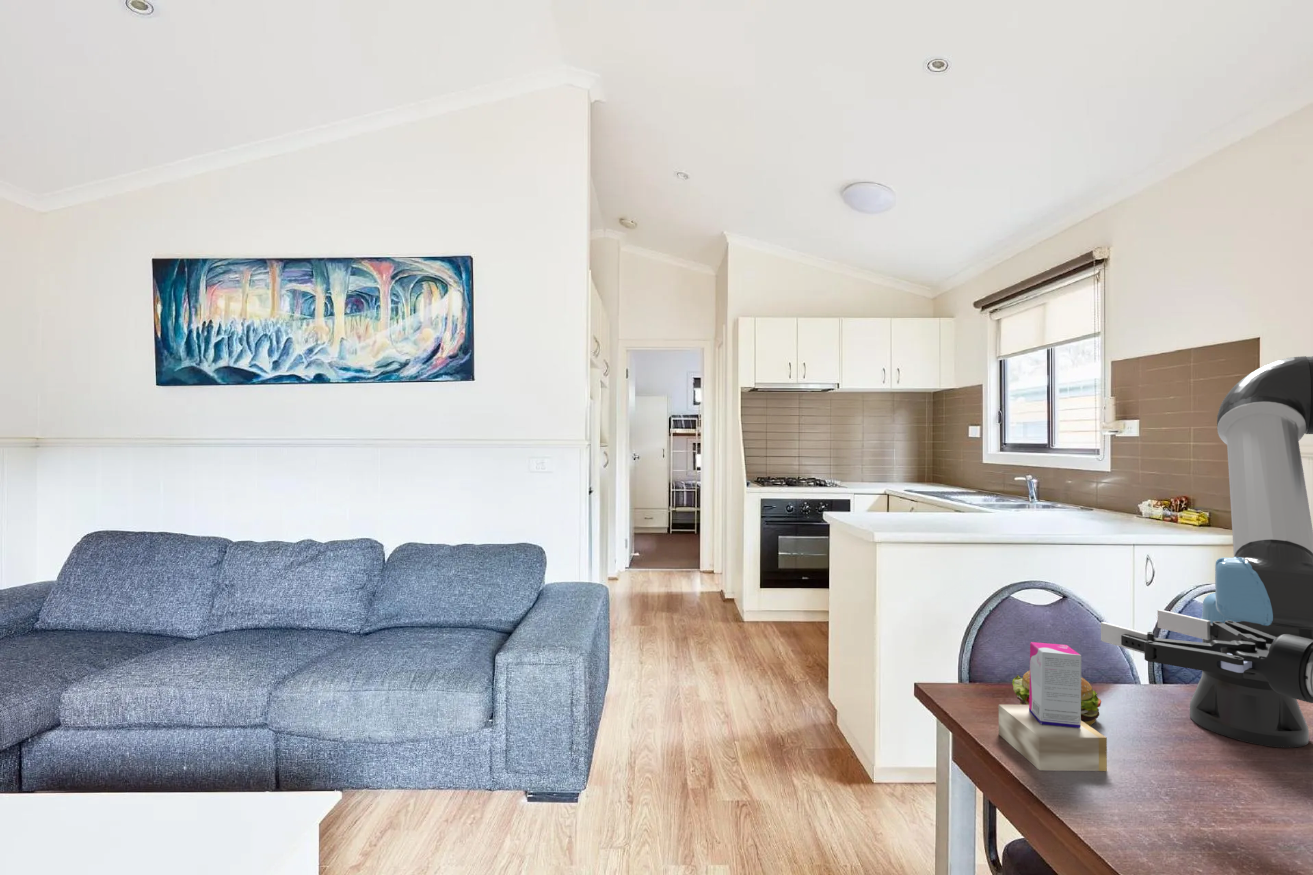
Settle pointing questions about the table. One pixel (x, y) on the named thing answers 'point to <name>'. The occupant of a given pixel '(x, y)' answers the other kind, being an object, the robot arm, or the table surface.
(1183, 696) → the table surface
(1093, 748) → the block
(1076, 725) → the supplement box
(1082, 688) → the food
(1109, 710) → the table surface
